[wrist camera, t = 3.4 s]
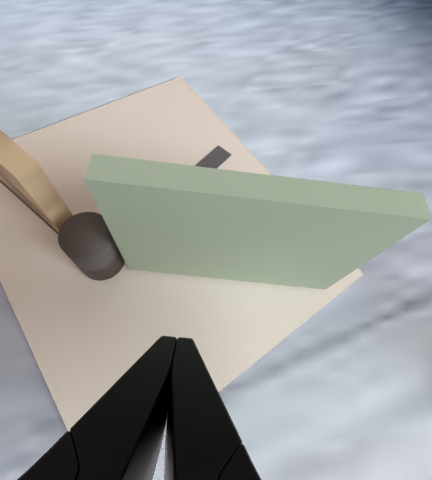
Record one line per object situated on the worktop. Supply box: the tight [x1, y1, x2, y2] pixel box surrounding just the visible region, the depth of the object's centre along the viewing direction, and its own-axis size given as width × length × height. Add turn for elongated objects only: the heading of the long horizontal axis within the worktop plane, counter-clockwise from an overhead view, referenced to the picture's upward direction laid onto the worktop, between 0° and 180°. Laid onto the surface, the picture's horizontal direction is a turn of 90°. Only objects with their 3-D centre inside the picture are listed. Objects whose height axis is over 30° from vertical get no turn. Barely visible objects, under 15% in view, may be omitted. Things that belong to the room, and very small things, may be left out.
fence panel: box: [84, 154, 430, 290], centre depth 13 cm, size 11×1×8 cm, turn 86°
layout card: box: [0, 77, 363, 437], centre depth 18 cm, size 17×20×1 cm
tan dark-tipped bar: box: [0, 130, 125, 281], centre depth 15 cm, size 11×2×6 cm, turn 50°
